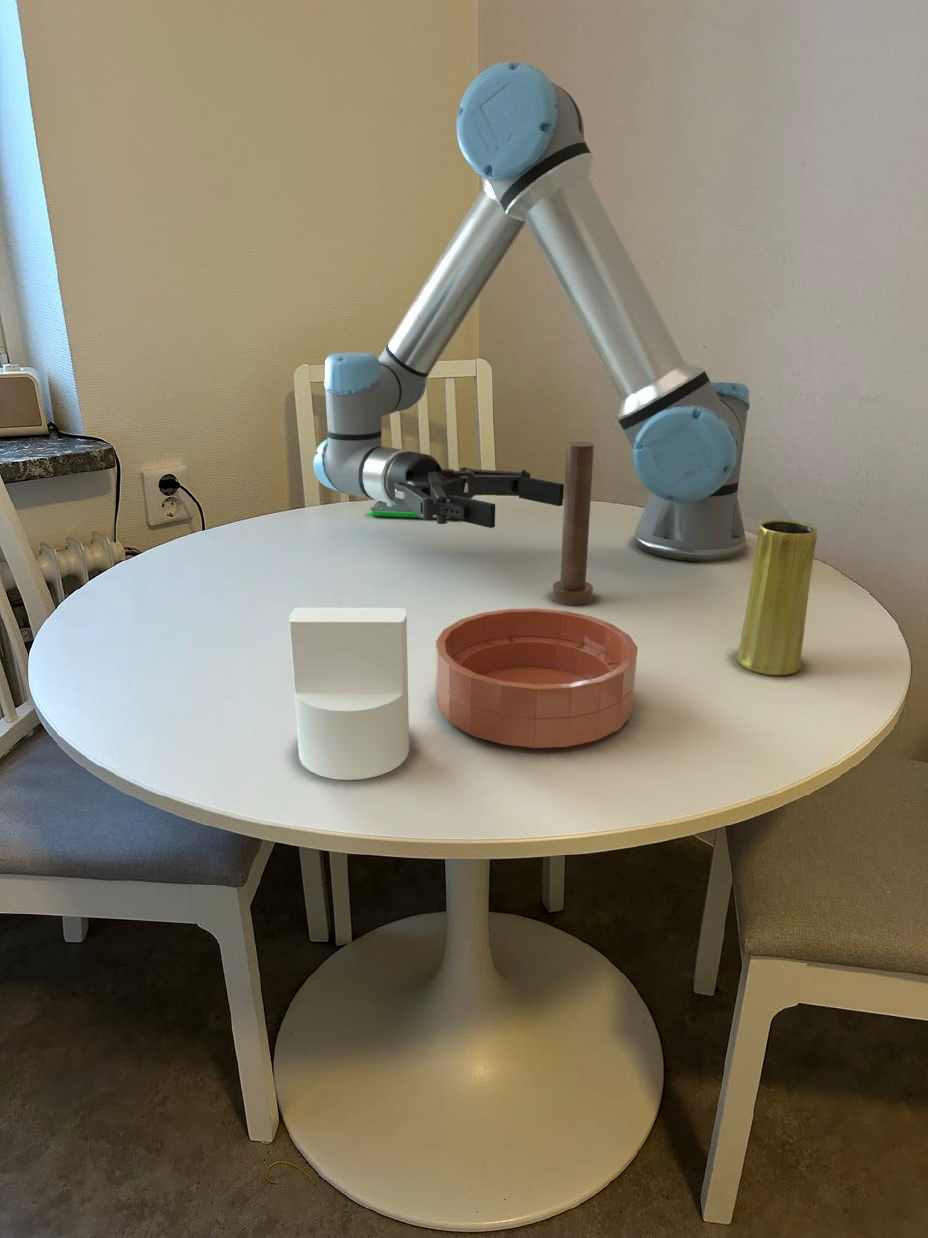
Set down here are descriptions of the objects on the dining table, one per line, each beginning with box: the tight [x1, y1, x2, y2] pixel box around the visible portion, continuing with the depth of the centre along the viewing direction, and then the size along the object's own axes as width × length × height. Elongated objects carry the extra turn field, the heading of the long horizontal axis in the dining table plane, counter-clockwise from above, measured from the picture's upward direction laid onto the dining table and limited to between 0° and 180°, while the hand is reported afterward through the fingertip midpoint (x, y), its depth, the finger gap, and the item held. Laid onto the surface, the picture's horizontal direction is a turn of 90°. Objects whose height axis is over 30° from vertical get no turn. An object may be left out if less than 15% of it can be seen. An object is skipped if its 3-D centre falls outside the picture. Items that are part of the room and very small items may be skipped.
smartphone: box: [368, 500, 452, 520], centre depth 142 cm, size 8×1×15 cm
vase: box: [736, 519, 818, 677], centre depth 85 cm, size 6×6×14 cm
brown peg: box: [551, 441, 595, 607], centre depth 102 cm, size 5×5×19 cm
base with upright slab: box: [288, 607, 410, 781], centre depth 70 cm, size 9×9×12 cm
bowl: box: [435, 607, 638, 749], centre depth 78 cm, size 18×18×6 cm
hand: (529, 505), depth 106 cm, fingers open, 13 cm apart
